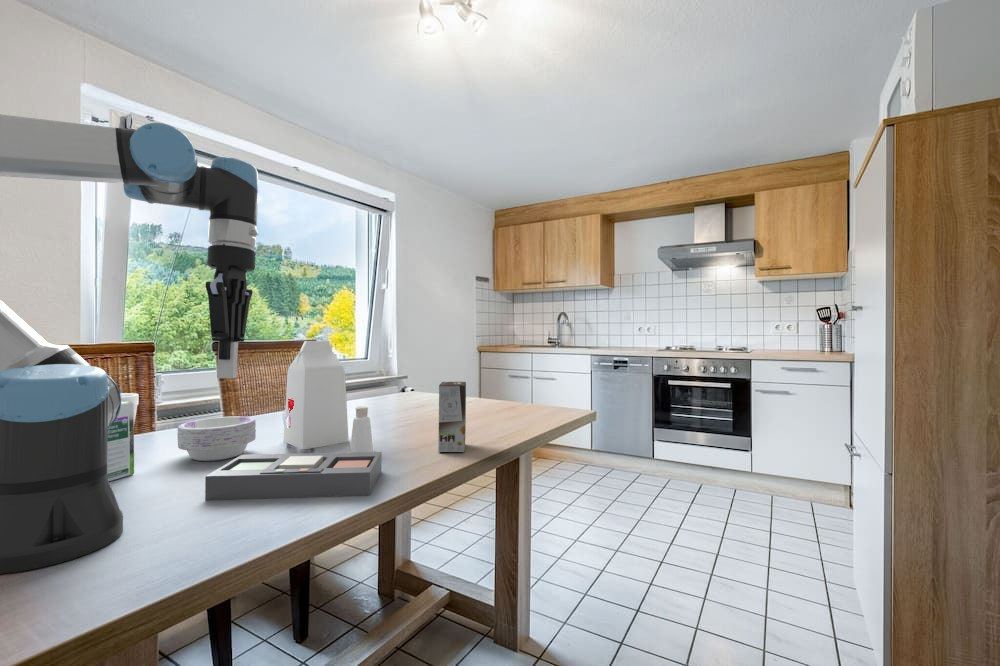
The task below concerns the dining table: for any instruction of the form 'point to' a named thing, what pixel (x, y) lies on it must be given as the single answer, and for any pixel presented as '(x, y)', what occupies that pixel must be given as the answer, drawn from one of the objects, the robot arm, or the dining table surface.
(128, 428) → the syrup box
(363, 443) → the pepper shaker
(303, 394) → the milk
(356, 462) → the terracotta key
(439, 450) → the coffee box
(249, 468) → the sage key
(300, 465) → the cream key
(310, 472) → the keypad
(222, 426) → the paper bowls
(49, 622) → the dining table surface
